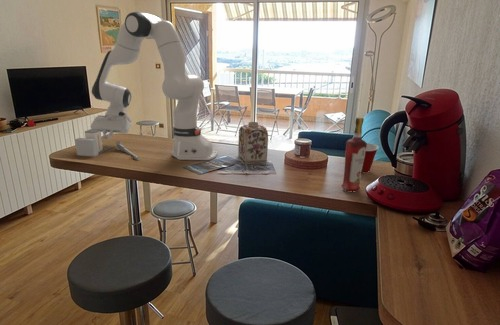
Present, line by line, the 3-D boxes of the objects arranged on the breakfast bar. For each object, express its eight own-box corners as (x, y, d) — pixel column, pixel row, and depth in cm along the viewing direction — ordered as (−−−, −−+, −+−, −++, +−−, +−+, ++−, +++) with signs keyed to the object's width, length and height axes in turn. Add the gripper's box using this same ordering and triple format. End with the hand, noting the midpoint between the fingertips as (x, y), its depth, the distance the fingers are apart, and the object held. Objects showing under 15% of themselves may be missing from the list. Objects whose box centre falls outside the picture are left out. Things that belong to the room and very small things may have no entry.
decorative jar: (244, 162, 155) (245, 125, 150) (237, 155, 166) (238, 120, 160) (268, 160, 159) (269, 124, 153) (259, 154, 169) (261, 119, 164)
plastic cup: (345, 171, 147) (349, 145, 144) (355, 165, 155) (359, 141, 151) (369, 177, 141) (373, 150, 137) (378, 171, 148) (382, 145, 145)
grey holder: (120, 149, 170) (118, 132, 167) (99, 159, 153) (97, 140, 151) (95, 147, 172) (93, 130, 170) (72, 157, 155) (70, 138, 153)
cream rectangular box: (103, 150, 163) (100, 129, 160) (97, 153, 158) (94, 132, 155) (93, 149, 164) (91, 129, 160) (87, 152, 159) (84, 131, 156)
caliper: (116, 152, 166) (115, 140, 164) (118, 151, 167) (117, 139, 165) (138, 160, 154) (137, 148, 152) (140, 160, 155) (139, 147, 153)
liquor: (350, 185, 131) (359, 115, 122) (364, 191, 125) (375, 119, 116) (336, 188, 127) (344, 116, 119) (350, 195, 121) (360, 120, 113)
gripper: (93, 111, 173) (84, 133, 167) (129, 113, 170) (121, 136, 164) (99, 118, 179) (90, 140, 173) (134, 120, 176) (126, 142, 170)
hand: (105, 138), depth 168 cm, fingers closed
